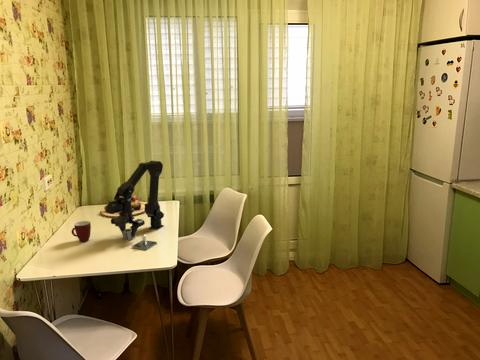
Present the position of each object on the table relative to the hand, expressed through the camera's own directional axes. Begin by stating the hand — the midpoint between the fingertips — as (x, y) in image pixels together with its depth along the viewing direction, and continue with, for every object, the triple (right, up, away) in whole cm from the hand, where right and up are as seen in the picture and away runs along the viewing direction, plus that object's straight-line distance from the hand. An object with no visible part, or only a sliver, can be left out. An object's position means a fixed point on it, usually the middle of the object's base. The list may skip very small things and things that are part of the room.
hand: (128, 236), depth 216 cm
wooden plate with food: (-17, +10, +51) cm, 54 cm away
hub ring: (0, -1, 0) cm, 1 cm away
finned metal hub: (+11, -3, -11) cm, 16 cm away
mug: (-25, -2, -2) cm, 25 cm away
